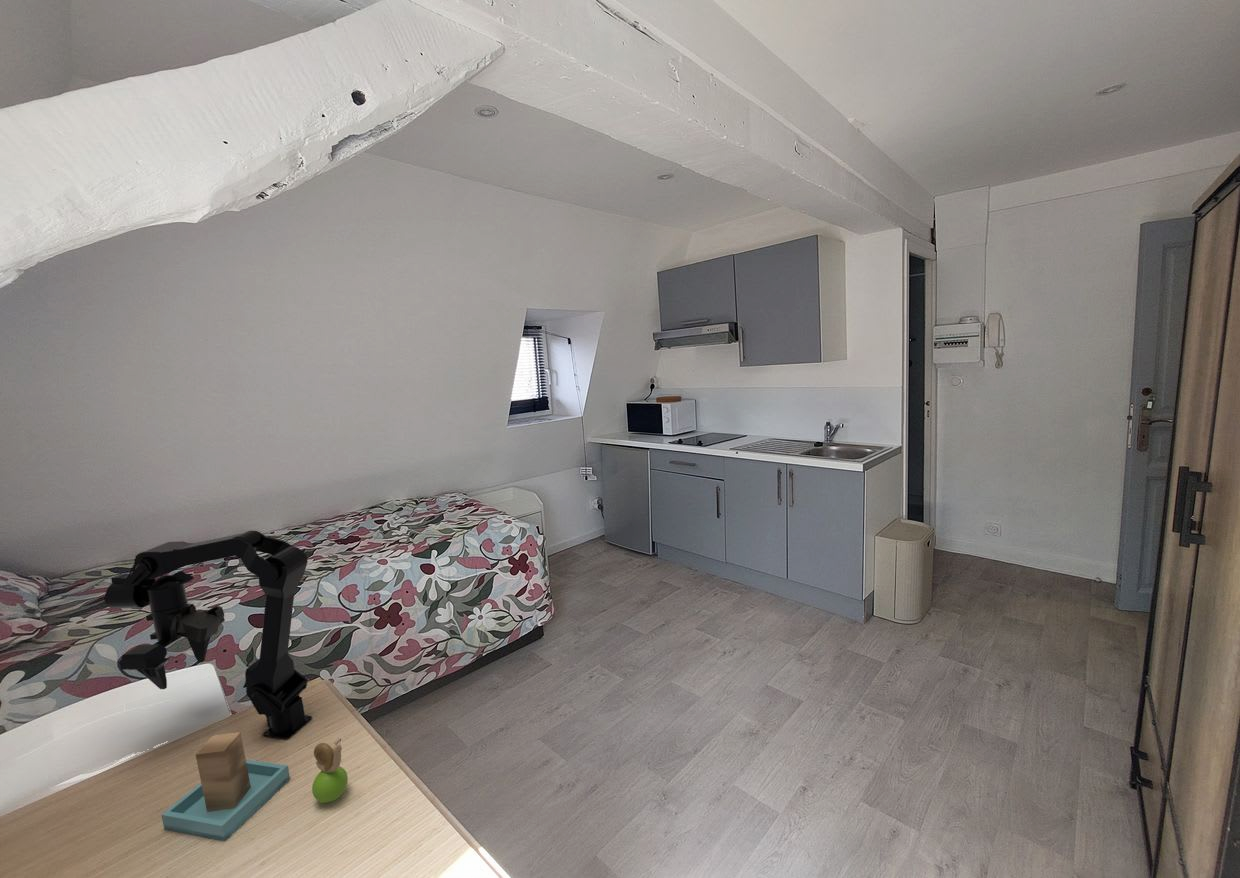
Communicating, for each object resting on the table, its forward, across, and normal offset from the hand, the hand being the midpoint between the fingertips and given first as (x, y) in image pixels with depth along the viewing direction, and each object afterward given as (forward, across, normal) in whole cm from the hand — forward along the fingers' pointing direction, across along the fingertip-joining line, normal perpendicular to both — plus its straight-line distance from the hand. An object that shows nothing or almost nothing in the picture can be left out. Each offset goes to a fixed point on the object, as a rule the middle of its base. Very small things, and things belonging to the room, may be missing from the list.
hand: (183, 674), depth 108 cm
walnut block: (+12, -19, -23) cm, 32 cm away
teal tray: (+13, -19, -23) cm, 32 cm away
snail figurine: (+13, -18, -41) cm, 47 cm away
